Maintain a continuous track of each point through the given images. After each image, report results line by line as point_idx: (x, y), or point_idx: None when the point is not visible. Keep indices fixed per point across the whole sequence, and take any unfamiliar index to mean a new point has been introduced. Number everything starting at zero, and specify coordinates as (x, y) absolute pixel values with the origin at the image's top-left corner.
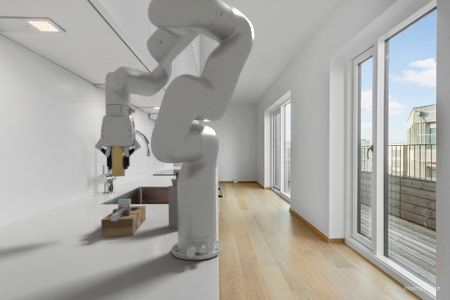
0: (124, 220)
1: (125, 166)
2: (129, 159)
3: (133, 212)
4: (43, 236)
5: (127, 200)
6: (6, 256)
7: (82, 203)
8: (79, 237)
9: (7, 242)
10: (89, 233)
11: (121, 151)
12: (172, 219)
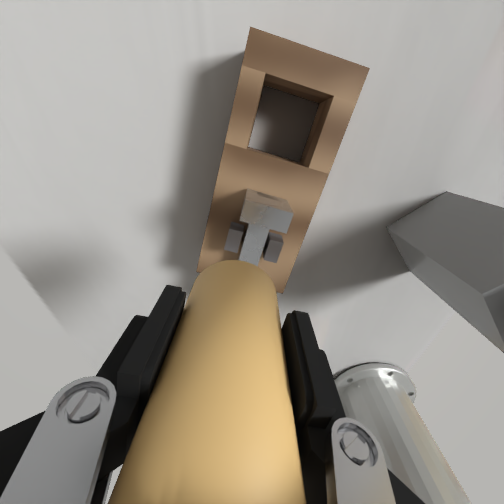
0: None
1: None
2: (337, 404)
3: (295, 205)
4: (45, 184)
5: (278, 230)
6: (50, 307)
7: None
8: (150, 235)
9: None
10: (167, 205)
11: None
12: (404, 248)
